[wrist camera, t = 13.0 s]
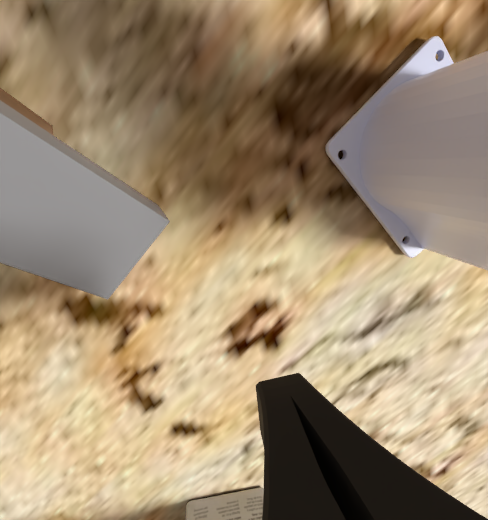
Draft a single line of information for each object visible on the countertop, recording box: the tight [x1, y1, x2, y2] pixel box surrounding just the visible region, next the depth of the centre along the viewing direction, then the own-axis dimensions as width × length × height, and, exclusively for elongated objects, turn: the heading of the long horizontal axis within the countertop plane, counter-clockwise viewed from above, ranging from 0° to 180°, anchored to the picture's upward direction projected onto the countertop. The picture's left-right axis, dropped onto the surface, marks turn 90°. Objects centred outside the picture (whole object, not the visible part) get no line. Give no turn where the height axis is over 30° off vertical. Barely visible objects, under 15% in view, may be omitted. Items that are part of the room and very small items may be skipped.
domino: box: [0, 100, 170, 299], centre depth 12 cm, size 2×5×9 cm
